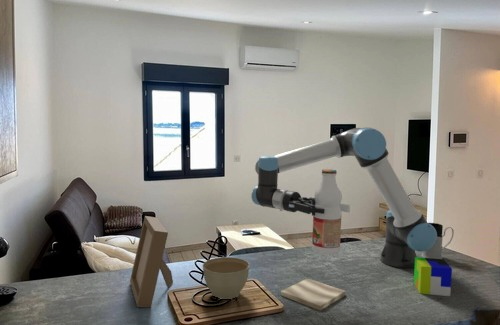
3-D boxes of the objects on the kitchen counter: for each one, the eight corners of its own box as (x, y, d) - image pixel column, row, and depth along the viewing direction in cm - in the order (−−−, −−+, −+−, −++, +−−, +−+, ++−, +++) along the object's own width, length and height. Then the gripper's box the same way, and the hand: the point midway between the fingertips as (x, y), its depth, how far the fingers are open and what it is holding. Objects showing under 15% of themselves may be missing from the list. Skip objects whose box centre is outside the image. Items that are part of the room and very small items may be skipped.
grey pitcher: (417, 253, 180) (419, 222, 179) (445, 253, 182) (447, 222, 180) (428, 260, 171) (430, 227, 170) (457, 259, 173) (460, 226, 172)
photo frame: (137, 309, 121) (136, 232, 119) (129, 283, 141) (128, 217, 139) (183, 301, 127) (183, 228, 125) (170, 278, 147) (169, 214, 145)
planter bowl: (255, 289, 138) (255, 259, 137) (239, 308, 123) (239, 276, 122) (214, 282, 143) (214, 254, 142) (194, 300, 128) (194, 269, 127)
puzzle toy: (450, 296, 135) (452, 268, 134) (419, 293, 137) (421, 266, 136) (442, 285, 144) (443, 259, 143) (413, 282, 146) (415, 257, 145)
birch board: (307, 282, 145) (307, 278, 145) (345, 295, 134) (345, 290, 134) (280, 295, 133) (280, 291, 133) (320, 310, 122) (320, 306, 122)
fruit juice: (336, 257, 125) (339, 172, 123) (308, 252, 130) (311, 170, 127) (342, 249, 134) (346, 169, 131) (316, 245, 138) (319, 167, 136)
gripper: (304, 206, 150) (357, 216, 135) (268, 215, 134) (323, 227, 119) (304, 187, 150) (358, 195, 134) (268, 194, 133) (324, 203, 118)
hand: (341, 210), depth 127 cm, fingers closed on fruit juice, 9 cm apart
